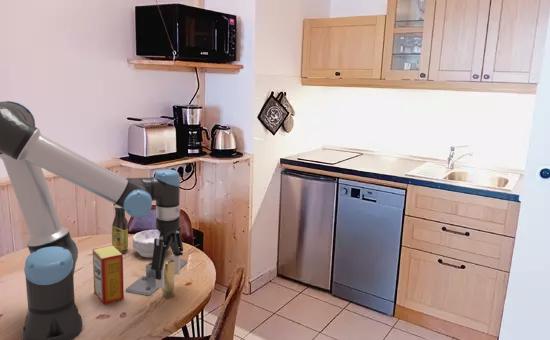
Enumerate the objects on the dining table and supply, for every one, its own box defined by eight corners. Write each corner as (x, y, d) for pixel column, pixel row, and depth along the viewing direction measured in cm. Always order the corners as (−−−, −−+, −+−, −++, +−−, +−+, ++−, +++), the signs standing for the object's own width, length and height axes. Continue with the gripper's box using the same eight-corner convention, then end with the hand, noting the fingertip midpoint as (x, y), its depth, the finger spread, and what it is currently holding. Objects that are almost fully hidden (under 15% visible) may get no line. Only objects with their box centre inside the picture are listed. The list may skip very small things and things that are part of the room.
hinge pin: (170, 298, 146) (170, 265, 143) (159, 296, 147) (159, 263, 144) (176, 293, 150) (176, 260, 147) (165, 291, 150) (165, 258, 148)
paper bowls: (135, 263, 172) (135, 243, 170) (131, 249, 186) (130, 231, 184) (174, 258, 178) (174, 239, 177) (167, 245, 192) (167, 227, 190)
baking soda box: (94, 293, 147) (92, 248, 144) (113, 288, 151) (112, 244, 148) (103, 304, 140) (101, 257, 137) (123, 299, 144) (122, 253, 141)
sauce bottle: (109, 252, 181) (107, 205, 177) (121, 247, 186) (120, 202, 182) (118, 256, 178) (117, 209, 174) (131, 251, 183) (130, 205, 179)
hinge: (149, 295, 147) (149, 282, 146) (125, 291, 149) (125, 278, 148) (187, 262, 175) (187, 250, 174) (166, 259, 177) (166, 247, 176)
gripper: (160, 229, 131) (161, 297, 135) (193, 209, 153) (192, 268, 157) (138, 226, 132) (139, 293, 137) (173, 206, 154) (173, 265, 159)
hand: (168, 280), depth 147 cm, fingers open, 10 cm apart
